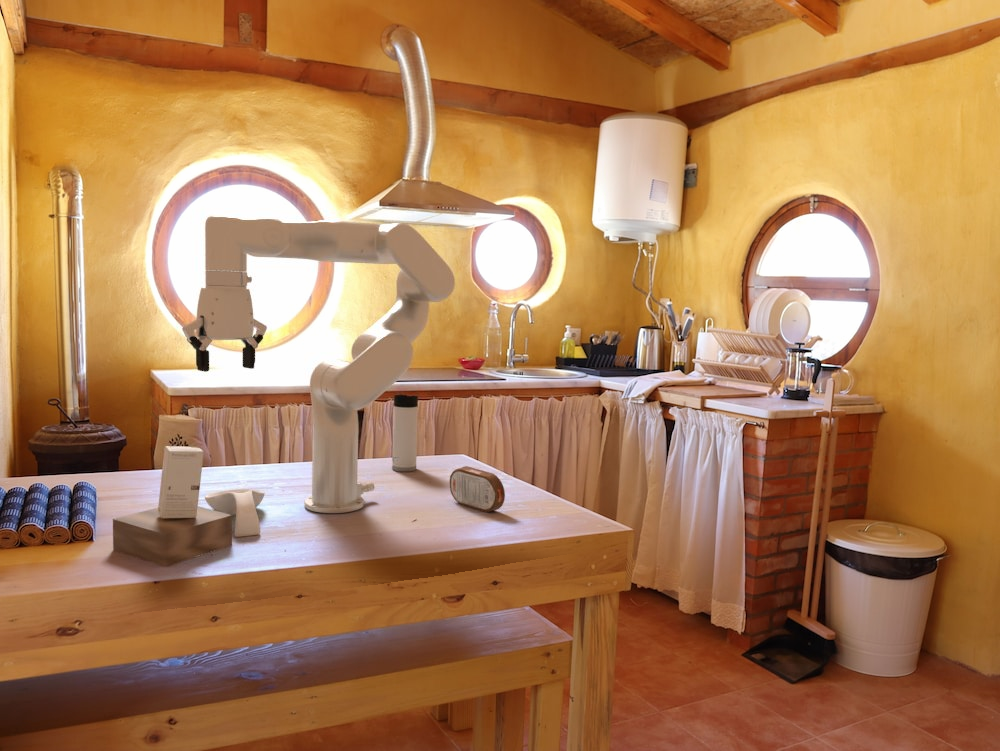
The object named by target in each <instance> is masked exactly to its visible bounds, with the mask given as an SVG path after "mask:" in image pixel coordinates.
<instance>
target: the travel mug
mask: <svg viewBox="0 0 1000 751" xmlns="http://www.w3.org/2000/svg"><path fill="white" fill-rule="evenodd" d="M418 402H419V396H418V395H407V394H394V395H393V413H392V414H393V416H392V417H393V418H392V421H393V422H392V452H391V453H392V454H391V455H392V456H391V457H392V458H391V459H392V460H391V469H392V470H393V471H394V472H402V473H405V472H406V473H409V472H414V471H415V470H416V469H417V456H418V454H417V453H418V452H417V449H418V417H419V416H418V414H419V413H418V412H419V409H418V408H419V406H418Z"/></svg>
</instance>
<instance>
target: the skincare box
mask: <svg viewBox="0 0 1000 751" xmlns="http://www.w3.org/2000/svg"><path fill="white" fill-rule="evenodd" d="M203 463H204V450H203V449H201V448H200V447H198V446H184V445H183V446H181V445H180V446H178V445H177V446H172V445H171V446H170V445H165V446H164V453H163V459H162V469H161V475H160V476H161V478H160V486H159V487H160V488H159V495H158V496H159V497H158V506H157V508H158V513H159V515H160V517H161V518H195V517H196V516H197V507H198V506H199V498H200V489H201V488H200V487H201V480H202V471H203Z"/></svg>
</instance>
